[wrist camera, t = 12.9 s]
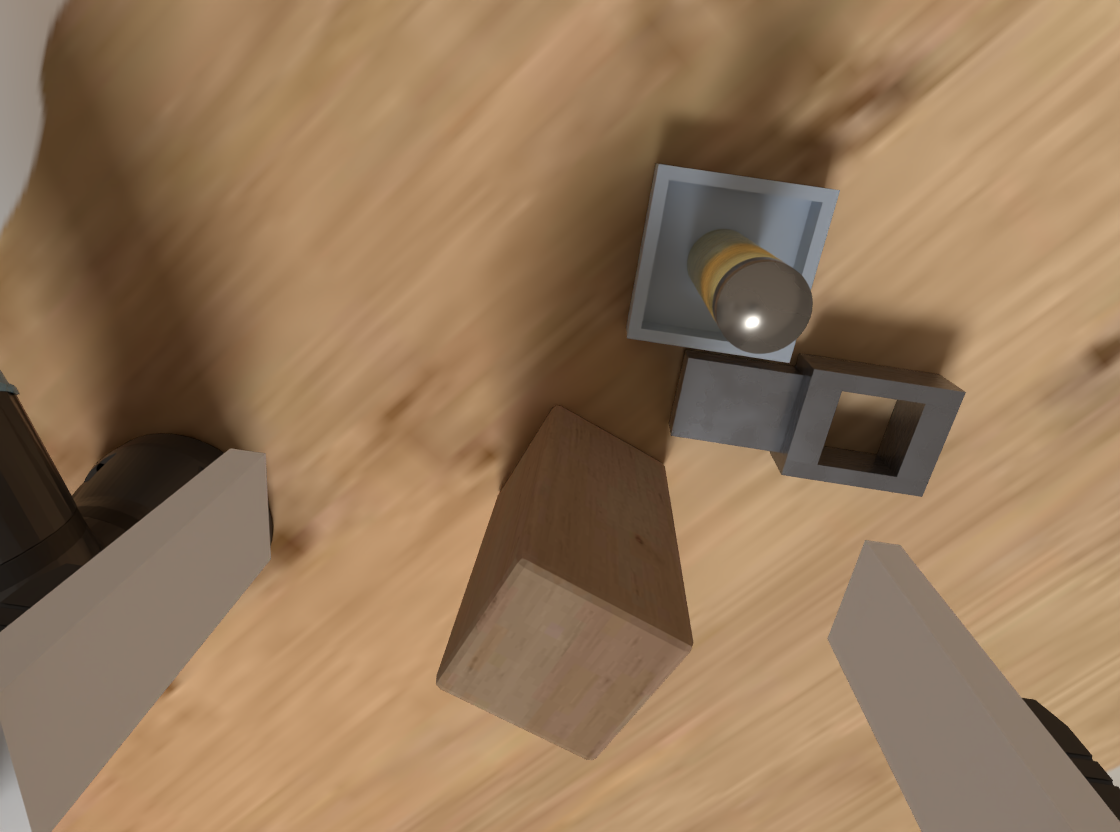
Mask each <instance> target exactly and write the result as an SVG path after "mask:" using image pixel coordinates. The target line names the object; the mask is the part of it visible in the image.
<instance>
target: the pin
mask: <svg viewBox="0 0 1120 832" xmlns="http://www.w3.org/2000/svg"><path fill="white" fill-rule="evenodd" d="M687 270H688V274H689V277H690V279H691V281H692V283H693V284H694V286H695V288H696V290H697V291H698V293H699V295H700V296H701V298H702V300H703V301H704V303H705V305H706V307H707V308H708V310H709V312H710V313H711V315H712V317H713V318H714V320H715V322H716V323H717V325H718V327H719V329H720V330H721V332H722V334H723V335H724V337H725V338H726V339H727V340H728V341H729V342H730V343H731V344H732V345H733V346H735V347H736V348H738V349H740V350H742V351H745V352H748V353H754V354H766V353H772V352H775V351H778V350H780V349H783V348H785V347H786V346H788V345H790V344H791V343H792V342H794V341H795V340H796V339H797V338H798V337H799V336H800V335H801V334H802V332H803V331H804V329H805V328H806V326H807V324H808V322H809V319H810V317H811V313H812V306H813V301H812V294H811V290H810V287H809V285H808V283H807V281H806V280H805V279H804V277H803V276H802V275H801V274H800V273H799V272H798V271H796V270H795V269H794V268H792V267H791V266H789V265H787V264H786V263H784V262H783V261H781V260H780V259H778V258H777V257H775V256H774V255H772V254H771V253H769V252H768V251H766V250H765V249H763V248H761V247H760V246H758V245H757V244H755V243H754V242H752V241H751V240H749V239H748V238H746V237H745V236H743V235H742V234H740V233H738V232H736V231H734V230H730V229H717V230H713V231H710V232H708V233H706V234H704V235H703V236H702V237H700V238H699V239H698V240H697V241H696V242H695V244H694V245H693V246H692V248H691V250H690V252H689V255H688V260H687Z"/></svg>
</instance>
